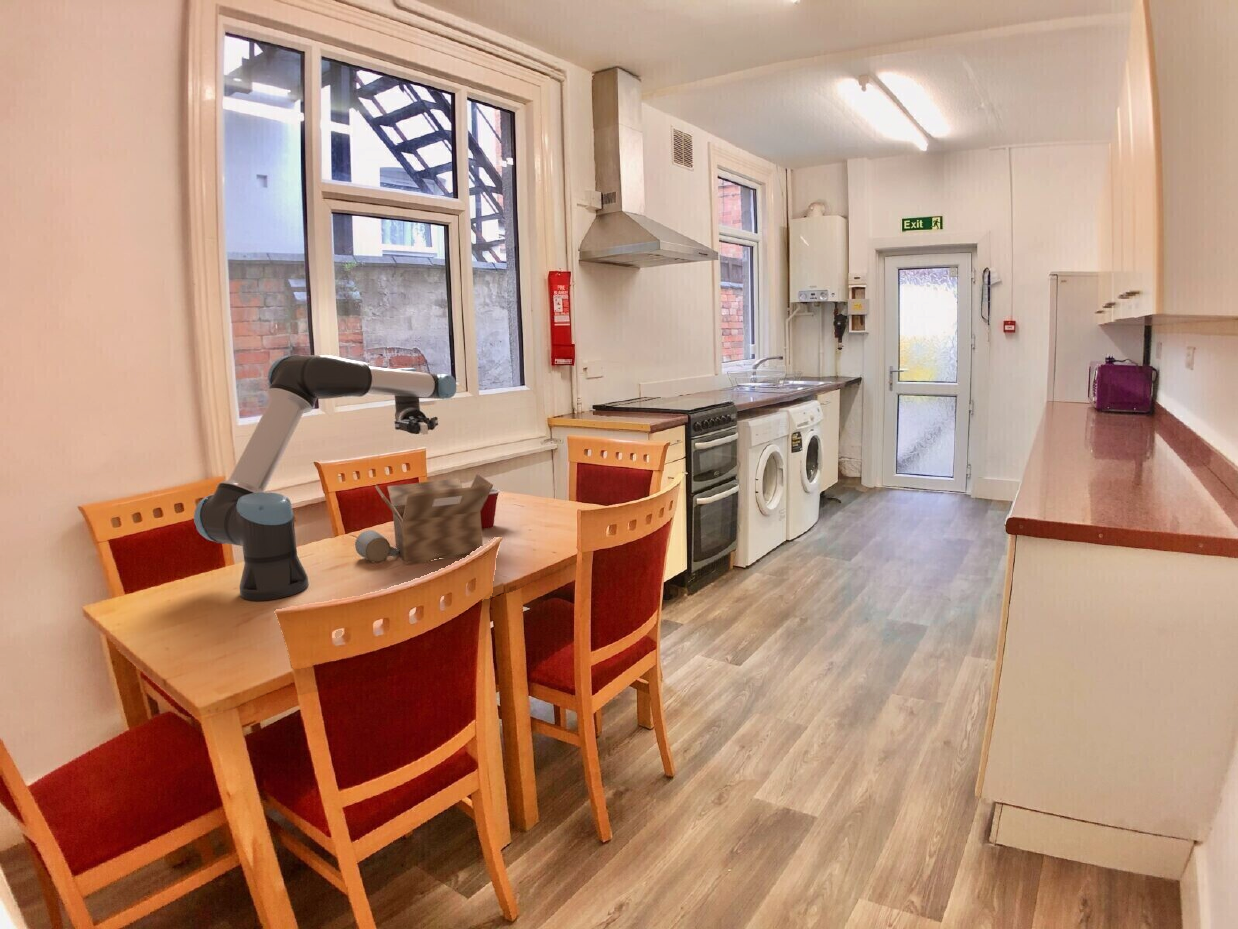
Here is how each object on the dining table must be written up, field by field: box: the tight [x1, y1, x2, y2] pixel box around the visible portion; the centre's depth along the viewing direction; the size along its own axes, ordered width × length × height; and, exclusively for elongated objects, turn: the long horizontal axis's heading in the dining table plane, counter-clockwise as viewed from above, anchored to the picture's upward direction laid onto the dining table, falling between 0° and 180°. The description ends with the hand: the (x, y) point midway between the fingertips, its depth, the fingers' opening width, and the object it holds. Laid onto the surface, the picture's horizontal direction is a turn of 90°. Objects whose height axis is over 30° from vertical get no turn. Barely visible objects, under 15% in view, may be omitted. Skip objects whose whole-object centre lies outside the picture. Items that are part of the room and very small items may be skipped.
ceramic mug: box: [354, 529, 400, 563], centre depth 201 cm, size 11×8×8 cm
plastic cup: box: [480, 488, 501, 530], centre depth 230 cm, size 11×11×12 cm
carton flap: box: [403, 485, 490, 522], centre depth 189 cm, size 20×17×1 cm
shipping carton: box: [374, 474, 494, 566], centre depth 209 cm, size 30×26×19 cm
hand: (425, 429), depth 205 cm, fingers closed
